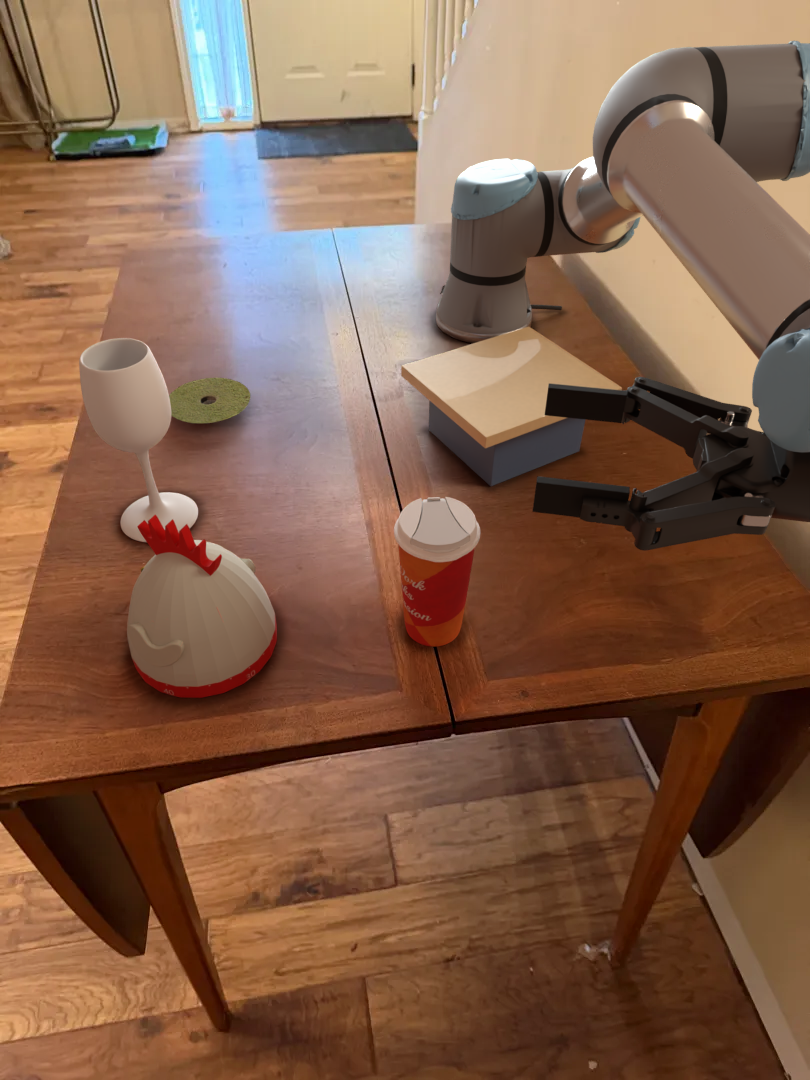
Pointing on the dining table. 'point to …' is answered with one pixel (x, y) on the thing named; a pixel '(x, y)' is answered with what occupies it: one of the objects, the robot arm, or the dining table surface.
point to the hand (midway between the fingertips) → (540, 442)
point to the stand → (502, 402)
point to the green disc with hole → (208, 400)
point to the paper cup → (435, 566)
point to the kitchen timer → (197, 616)
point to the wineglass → (132, 421)
